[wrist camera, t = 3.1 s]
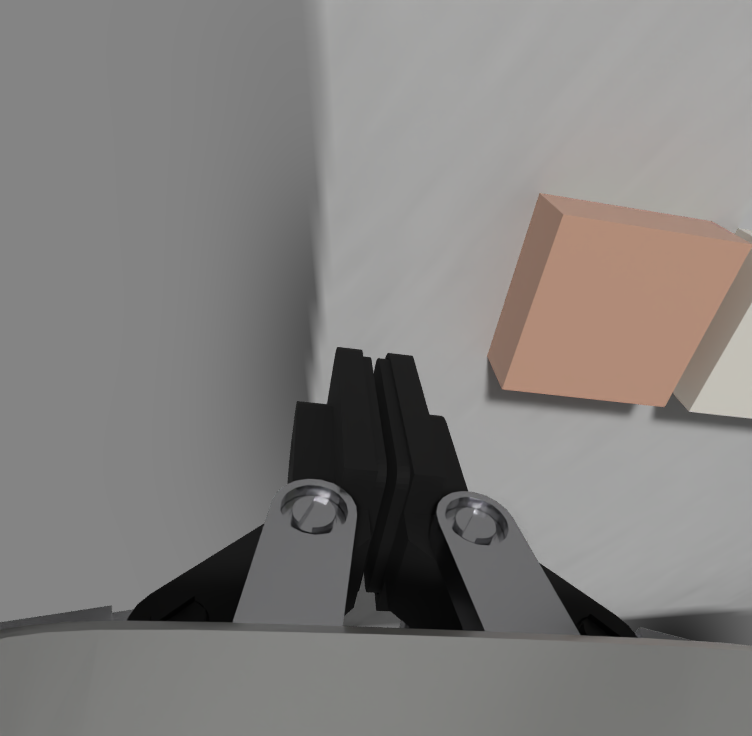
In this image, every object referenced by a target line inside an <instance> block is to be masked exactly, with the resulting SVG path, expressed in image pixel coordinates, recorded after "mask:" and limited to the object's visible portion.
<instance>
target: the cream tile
mask: <svg viewBox="0 0 752 736" xmlns="http://www.w3.org/2000/svg"><path fill="white" fill-rule="evenodd" d="M735 235H737V236H739V237H741V238H742V239H744V240H746V241H748V242H750V243H751V244H752V230H746V229H739V228H738V229H737V231H736V233H735ZM673 394H674V395H675V396H676V398H677V399H678V400H679V401H680V402H681V403H682V404H683V406H684V407H685V408H686V409H687V410H688V411H689V412H696V413H705V414H714V415H723V416H733V417H742V418H751V419H752V248H751V250H750V251H749V253H748V255H747V257H746V259H745V261H744V262H743V264H742V266H741V268H740V270H739V272H738V273H737V275H736V277H735V279H734V281H733V283H732V284H731V286H730V288H729V290H728V292H727V294H726V295H725V297H724V299H723V301H722V303H721V305H720V306H719V308H718V310H717V312H716V314H715V316H714V317H713V319H712V321H711V323H710V325H709V327H708V328H707V330H706V332H705V334H704V336H703V338H702V340H701V341H700V343H699V345H698V347H697V349H696V351H695V352H694V354H693V356H692V358H691V360H690V362H689V363H688V365H687V367H686V369H685V371H684V373H683V374H682V376H681V378H680V380H679V382H678V384H677V385H676V387H675V389H674V391H673Z"/></svg>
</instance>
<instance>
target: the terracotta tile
mask: <svg viewBox="0 0 752 736" xmlns="http://www.w3.org/2000/svg"><path fill="white" fill-rule="evenodd" d="M751 248H752V244H751V243H750V242H748V241H746V240H744V239H742V238H741V237H739V236H737V235H735V234H734V233H732V232H730V231H728V230H726V229H725V228H723V227H721V226H719V225H718V224H716V223H714V222H712V221H707V220H701V219H694V218H688V217H682V216H676V215H670V214H664V213H658V212H652V211H646V210H640V209H634V208H627V207H621V206H615V205H609V204H603V203H597V202H591V201H585V200H579V199H573V198H567V197H560V196H554V195H548V194H542V193H539V196H538V200H537V203H536V206H535V209H534V212H533V215H532V218H531V221H530V224H529V228H528V231H527V234H526V237H525V240H524V243H523V246H522V249H521V253H520V256H519V259H518V262H517V265H516V268H515V271H514V274H513V277H512V281H511V284H510V287H509V290H508V293H507V296H506V299H505V302H504V306H503V309H502V312H501V315H500V318H499V321H498V324H497V327H496V330H495V334H494V337H493V340H492V343H491V346H490V349H489V352H488V355H487V357H488V359H489V361H490V363H491V366H492V368H493V370H494V372H495V375H496V377H497V379H498V381H499V384H500V386H501V388H502V389H503V390H512V391H522V392H531V393H540V394H549V395H558V396H567V397H577V398H586V399H595V400H604V401H613V402H622V403H632V404H641V405H650V406H659V407H665V406H666V404H667V402H668V400H669V398H670V396H671V395H672V393H673V391H674V389H675V387H676V385H677V384H678V382H679V380H680V378H681V376H682V374H683V373H684V371H685V369H686V367H687V365H688V363H689V362H690V360H691V358H692V356H693V354H694V352H695V351H696V349H697V347H698V345H699V343H700V341H701V340H702V338H703V336H704V334H705V332H706V330H707V328H708V327H709V325H710V323H711V321H712V319H713V317H714V316H715V314H716V312H717V310H718V308H719V306H720V305H721V303H722V301H723V299H724V297H725V295H726V294H727V292H728V290H729V288H730V286H731V284H732V283H733V281H734V279H735V277H736V275H737V273H738V272H739V270H740V268H741V266H742V264H743V262H744V261H745V259H746V257H747V255H748V253H749V251H750V250H751Z"/></svg>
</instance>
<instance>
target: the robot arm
mask: <svg viewBox="0 0 752 736" xmlns="http://www.w3.org/2000/svg"><path fill="white" fill-rule="evenodd" d="M363 573H364V579H365V589H366V592H374V593H375V601H376V611H391V612H392V613H393V614H395V615H396V616H397V617H398V618H399V619H400V620H401V623H400V628H382V627H354V626H343V620H344V616H345V615H346V614H347V613H348V612H349V611H350V610H351V609H353V608H354V604H355V600H356V596H357V592H358V591H359V589H360V585H361V581H362V577H363ZM0 736H752V646H748V645H738V644H729V643H716V642H700V641H691V640H688V639H684V638H680V637H676V636H672V635H668V634H664V633H660V632H656V631H652V630H649V629H645V628H641V627H639V629H638V630H637V631H636V633H634V632H633V631H632V630H631V628H630V627H629V626H628V625H627V624H626V623H624V622H623V621H622V620H621V619H620V618H619V617H617V616H616V615H615V614H613V613H612V612H610V611H609V610H607V609H606V608H605V607H603V606H602V605H600V604H599V603H597V602H596V601H594V600H593V599H591V598H590V597H588V596H587V595H586V594H584V593H583V592H581V591H580V590H578V589H577V588H575V587H574V586H572V585H571V584H569V583H568V582H567V581H565V580H564V579H562V578H561V577H559V576H558V575H556V574H555V573H553V572H552V571H550V570H549V569H548V568H546V567H545V566H543V565H542V564H540V563H539V562H538V560H537V559H536V557H535V555H534V553H533V552H532V550H531V548H530V546H529V545H528V543H527V541H526V539H525V538H524V536H523V534H522V532H521V531H520V529H519V527H518V526H517V524H516V522H515V520H514V519H513V517H512V516H511V515H510V513H509V512H508V511H507V509H505V508H504V507H503V506H502V505H501V504H499V503H498V502H497V501H495V500H493V499H491V498H489V497H487V496H485V495H482V494H479V493H475V492H468V489H467V486H466V483H465V480H464V477H463V474H462V470H461V467H460V464H459V461H458V458H457V455H456V451H455V448H454V445H453V442H452V439H451V436H450V433H449V429H448V426H447V423H446V421H445V418H444V417H442V416H437V415H429V412H428V408H427V405H426V401H425V398H424V394H423V390H422V387H421V383H420V380H419V376H418V372H417V369H416V365H415V362H414V358H413V356H409V355H401V354H392V353H388V354H387V355H386V358H385V359H380V358H378V359H377V361H376V365H375V369H374V374H373V367H372V360H371V357H363V352H362V350H359V349H350V348H342V347H337V349H336V353H335V359H334V365H333V371H332V377H331V383H330V389H329V395H328V401H327V404H319V403H310V402H300V401H297V404H296V410H295V417H294V426H293V433H292V441H291V450H290V460H289V472H288V484H287V485H285V486H284V487H282V488H281V489H280V490H279V491H277V493H276V494H275V496H274V498H273V499H272V502H271V505H270V508H269V511H268V514H267V517H266V520H265V523H264V524H263V525H261V526H259V527H258V528H256V529H255V530H253V531H251V532H250V533H248V534H246V535H245V536H243V537H242V538H240V539H238V540H237V541H235V542H234V543H232V544H230V545H229V546H227V547H226V548H224V549H222V550H221V551H219V552H217V553H216V554H214V555H213V556H211V557H209V558H208V559H206V560H205V561H203V562H201V563H200V564H198V565H197V566H195V567H193V568H192V569H190V570H188V571H187V572H185V573H184V574H182V575H180V576H179V577H177V578H176V579H174V580H172V581H171V582H169V583H167V584H166V585H164V586H163V587H161V588H159V589H158V590H156V591H155V592H153V593H151V594H150V595H149V596H147V597H146V598H145V599H144V600H143V601H141V602H140V603H139V604H138V605H137V606H136V607H135V609H132V610H126V611H119V612H114V613H112V606H104V607H97V608H91V609H84V610H78V611H71V612H65V613H58V614H52V615H45V616H39V617H32V618H25V619H19V620H13V621H6V622H0Z"/></svg>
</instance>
